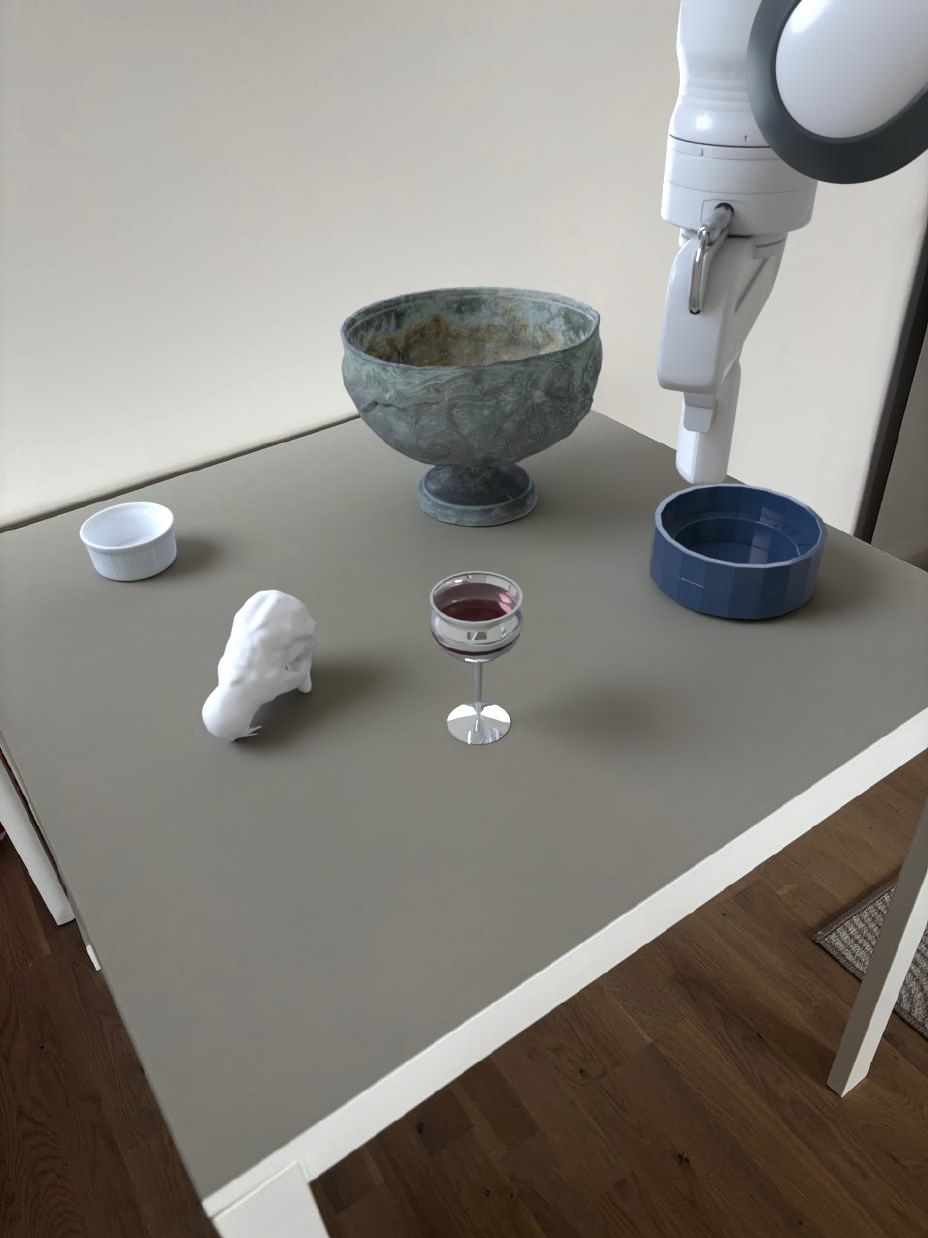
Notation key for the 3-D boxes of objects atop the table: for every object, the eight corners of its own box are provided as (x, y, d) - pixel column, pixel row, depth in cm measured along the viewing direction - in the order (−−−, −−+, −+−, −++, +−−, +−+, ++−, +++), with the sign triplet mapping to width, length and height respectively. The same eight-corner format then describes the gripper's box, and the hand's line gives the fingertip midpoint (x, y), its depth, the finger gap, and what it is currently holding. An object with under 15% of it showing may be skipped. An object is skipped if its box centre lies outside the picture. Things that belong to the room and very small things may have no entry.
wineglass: (538, 730, 75) (542, 603, 68) (465, 764, 72) (461, 635, 65) (490, 684, 80) (489, 560, 73) (419, 714, 77) (411, 589, 70)
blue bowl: (824, 553, 95) (836, 499, 92) (801, 640, 84) (814, 582, 80) (671, 524, 100) (677, 472, 97) (630, 602, 89) (635, 546, 86)
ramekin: (187, 574, 95) (178, 536, 92) (92, 593, 92) (81, 554, 90) (176, 531, 101) (168, 494, 99) (88, 548, 99) (77, 511, 96)
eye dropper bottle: (655, 477, 67) (673, 304, 60) (686, 446, 71) (706, 280, 64) (716, 492, 65) (741, 315, 58) (744, 460, 69) (771, 290, 62)
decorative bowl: (418, 584, 91) (413, 377, 80) (313, 481, 110) (296, 302, 99) (640, 519, 102) (662, 330, 91) (510, 436, 121) (516, 270, 110)
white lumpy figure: (317, 587, 76) (234, 690, 68) (333, 666, 82) (258, 769, 74) (248, 572, 78) (160, 670, 70) (269, 649, 84) (189, 748, 76)
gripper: (764, 235, 49) (727, 482, 57) (815, 157, 64) (780, 360, 72) (641, 225, 51) (622, 464, 59) (719, 152, 66) (695, 350, 74)
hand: (709, 406), depth 66 cm, fingers closed on eye dropper bottle, 5 cm apart
